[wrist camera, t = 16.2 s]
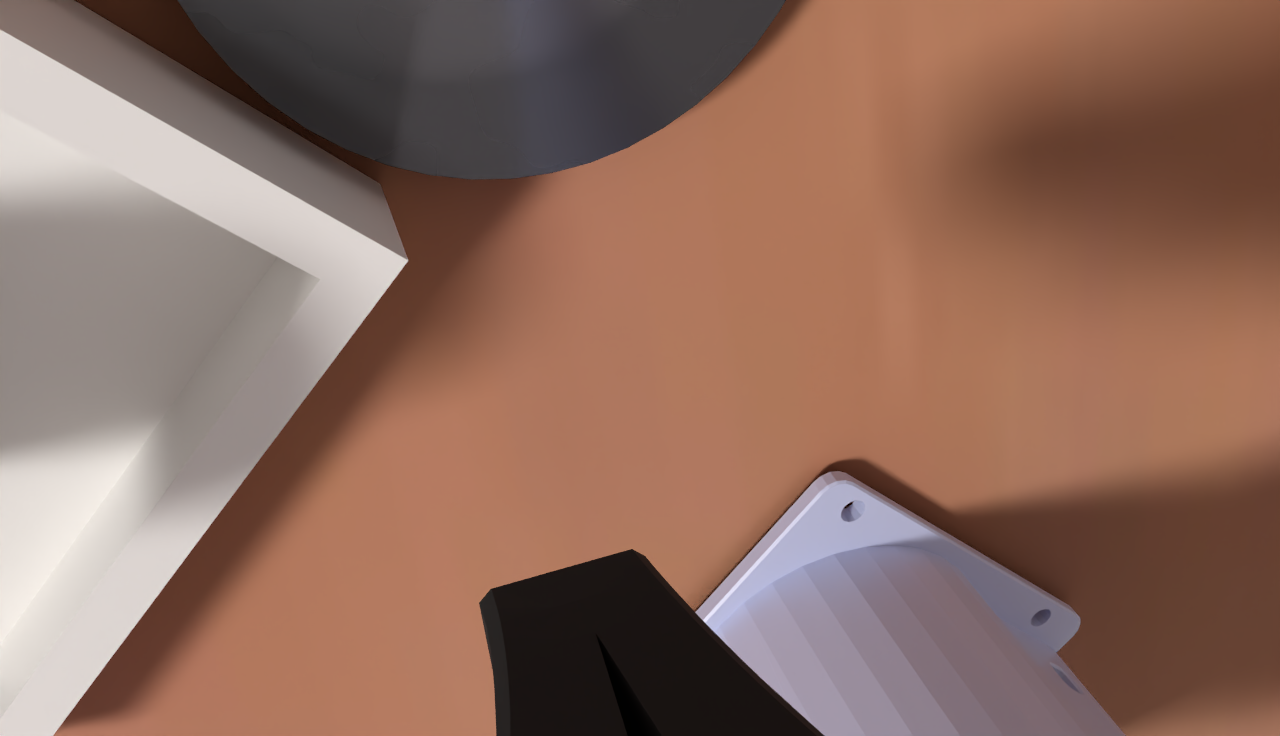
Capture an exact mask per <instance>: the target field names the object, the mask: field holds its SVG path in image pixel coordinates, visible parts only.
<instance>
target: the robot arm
mask: <svg viewBox="0 0 1280 736" xmlns="http://www.w3.org/2000/svg"><path fill="white" fill-rule="evenodd" d="M853 501H854V502H853ZM850 502H853V503H852V504H851V505H850V506H849V507H847V508H845V509H843V508H844V507H845V506H846V505H847V504H849V503H850ZM479 604H480V609H481V614H482V619H483V624H484V629H485V634H486V639H487V644H488V649H489V654H490V659H491V664H492V669H493V676H494V688H495V709H496V734H497V736H1126V735H1125V734H1124V733H1123V732H1122V730H1121V729H1120V728H1119V727H1118V726H1117V725H1116V723H1115V722H1114V721H1113V720H1112V719H1111V717H1110V716H1109V715H1108V714H1107V713H1106V711H1105V710H1104V709H1103V708H1102V707H1101V705H1100V704H1099V703H1098V702H1097V701H1096V700H1095V698H1094V697H1093V696H1092V695H1091V694H1090V692H1089V691H1088V690H1087V689H1086V688H1085V686H1084V685H1083V684H1082V683H1081V682H1080V681H1079V679H1078V678H1077V677H1076V676H1075V675H1074V673H1073V672H1072V671H1071V670H1070V669H1069V667H1068V666H1067V665H1066V664H1065V663H1064V661H1063V660H1062V659H1061V658H1060V657H1059V656H1058V654H1057V652H1058V651H1059V650H1060V649H1061V648H1062V647H1063V646H1064V645H1065V644H1066V643H1067V642H1068V641H1069V640H1070V639H1071V638H1072V637H1073V636H1074V635H1075V633H1076V632H1077V631H1078V629H1079V626H1080V623H1081V622H1080V617H1079V616H1078V614H1077V613H1076V612H1075V611H1074V610H1073V609H1072V608H1071V607H1070V606H1069V605H1068V604H1066V603H1064V602H1063V601H1061V600H1059V599H1058V598H1056V597H1054V596H1053V595H1051V594H1049V593H1048V592H1046V591H1044V590H1042V589H1041V588H1039V587H1037V586H1036V585H1034V584H1032V583H1031V582H1029V581H1027V580H1026V579H1024V578H1022V577H1021V576H1019V575H1017V574H1015V573H1014V572H1012V571H1010V570H1009V569H1007V568H1005V567H1004V566H1002V565H1000V564H999V563H997V562H995V561H994V560H992V559H990V558H988V557H987V556H985V555H983V554H982V553H980V552H978V551H977V550H975V549H973V548H972V547H970V546H968V545H967V544H965V543H963V542H961V541H960V540H958V539H956V538H955V537H953V536H951V535H950V534H948V533H946V532H945V531H943V530H941V529H940V528H938V527H936V526H934V525H933V524H931V523H929V522H928V521H926V520H924V519H923V518H921V517H919V516H918V515H916V514H914V513H913V512H911V511H909V510H907V509H906V508H904V507H902V506H901V505H899V504H897V503H896V502H894V501H892V500H891V499H889V498H887V497H886V496H884V495H882V494H880V493H879V492H877V491H875V490H874V489H872V488H870V487H869V486H867V485H865V484H864V483H862V482H860V481H859V480H857V479H855V478H854V477H852V476H850V475H848V474H847V473H844V472H841V471H834V472H828V473H826V474H824V475H822V476H820V477H819V478H818V479H816V480H815V481H814V482H813V483H812V484H811V485H810V486H809V487H808V489H807V490H806V491H805V492H804V493H803V494H802V495H801V496H800V497H799V499H798V500H797V501H796V502H795V503H794V504H793V505H792V506H791V507H790V508H789V510H788V511H787V512H786V513H785V514H784V515H783V516H782V517H781V518H780V519H779V521H778V522H777V523H776V524H775V525H774V526H773V527H772V528H771V529H770V531H769V532H768V533H767V534H766V535H765V536H764V537H763V538H762V539H761V540H760V542H759V543H758V544H757V545H756V546H755V547H754V548H753V549H752V550H751V551H750V553H749V554H748V555H747V556H746V557H745V558H744V559H743V560H742V561H741V563H740V564H739V565H738V566H737V567H736V568H735V569H734V570H733V571H732V572H731V574H730V575H729V576H728V577H727V578H726V579H725V580H724V581H723V582H722V583H721V585H720V586H719V587H718V588H717V589H716V590H715V591H714V592H713V593H712V594H711V596H710V597H709V598H708V599H707V600H706V601H705V602H704V603H703V604H702V606H701V607H700V608H699V609H698V610H697V611H696V612H694V611H693V610H692V609H691V608H690V606H689V605H688V604H687V603H686V602H685V601H684V600H683V599H682V598H681V597H680V596H679V595H678V593H677V592H676V591H675V590H674V589H673V588H672V587H671V586H670V585H669V583H668V582H667V581H666V580H665V579H664V578H663V577H662V576H661V574H660V573H659V572H658V571H657V570H656V569H655V567H654V566H653V565H652V564H651V563H650V561H649V560H648V559H647V558H646V557H645V556H644V555H642V554H640V553H638V552H636V551H635V550H633V549H631V550H627V551H624V552H620V553H617V554H613V555H609V556H606V557H602V558H599V559H595V560H592V561H588V562H585V563H581V564H578V565H574V566H571V567H567V568H563V569H560V570H556V571H553V572H549V573H546V574H542V575H539V576H535V577H532V578H528V579H525V580H521V581H518V582H514V583H510V584H507V585H503V586H500V587H496V588H493V589H491V590H490V591H489V592H488V593H487V594H486V596H485V597H484V598H483V599H482V600H481V602H480V603H479Z"/></svg>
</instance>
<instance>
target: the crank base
mask: <svg viewBox="0 0 1280 736" xmlns="http://www.w3.org/2000/svg"><path fill="white" fill-rule="evenodd" d="M178 2H179V3H180V5H181V6H182V8H183V9H184V11H185V12H186V14H187V15H188V17H189V18H190V20H191V21H192V23H193V24H194V26H195V27H196V29H197V30H198V31H199V33H200V34H201V35H202V36H203V37H204V38H205V40H206V41H207V42H208V43H209V44H210V45H211V46H212V48H213V49H214V50H215V51H216V52H217V53H218V54H219V56H220V57H221V58H222V59H223V60H224V61H225V62H226V64H227V65H228V66H229V67H230V68H231V69H232V70H233V71H234V72H235V73H236V74H237V75H238V76H239V77H241V78H242V79H243V80H244V81H245V82H246V83H247V84H248V85H249V86H251V87H252V88H253V89H254V90H255V91H256V92H257V93H258V94H259V95H261V96H262V97H263V98H264V99H265V100H266V101H267V102H269V103H270V104H271V105H273V106H274V107H276V108H277V109H279V110H280V111H282V112H283V113H284V114H286V115H287V116H289V117H290V118H292V119H293V120H294V121H296V122H297V123H299V124H300V125H302V126H303V127H305V128H306V129H308V130H310V131H312V132H314V133H315V134H317V135H319V136H321V137H323V138H325V139H327V140H329V141H331V142H333V143H335V144H336V145H338V146H340V147H342V148H344V149H346V150H349V151H351V152H354V153H357V154H359V155H362V156H365V157H367V158H370V159H373V160H375V161H378V162H381V163H383V164H386V165H389V166H394V167H398V168H402V169H406V170H410V171H415V172H419V173H423V174H427V175H434V176H444V177H453V178H462V179H513V178H520V177H527V176H534V175H541V174H548V173H553V172H557V171H561V170H565V169H568V168H572V167H576V166H580V165H583V164H587V163H591V162H593V161H596V160H598V159H601V158H603V157H605V156H608V155H610V154H613V153H615V152H618V151H620V150H623V149H625V148H628V147H630V146H631V145H633V144H635V143H637V142H639V141H641V140H642V139H644V138H646V137H648V136H650V135H651V134H653V133H655V132H657V131H659V130H661V129H662V128H664V127H665V126H667V125H668V124H670V123H671V122H672V121H674V120H675V119H677V118H678V117H679V116H681V115H682V114H684V113H685V112H686V111H688V110H689V109H691V108H692V107H694V106H695V105H696V104H697V103H699V102H700V101H701V100H702V99H703V98H704V97H705V96H706V95H707V94H709V93H710V92H711V91H712V90H713V89H714V88H715V87H716V86H717V85H719V84H720V83H721V82H722V81H723V80H724V79H725V78H726V77H727V76H728V75H729V74H730V73H731V72H732V71H733V70H734V69H735V67H736V66H737V65H738V64H739V63H740V62H741V61H742V60H743V58H744V57H745V56H746V55H747V54H748V53H749V52H750V51H751V49H752V48H753V47H754V46H755V45H756V43H757V42H758V41H759V39H760V38H761V36H762V35H763V34H764V32H765V31H766V29H767V28H768V27H769V25H770V24H771V22H772V21H773V19H774V18H775V17H776V15H777V14H778V12H779V11H780V9H781V8H782V6H783V4H784V2H785V0H178Z"/></svg>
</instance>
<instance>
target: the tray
mask: <svg viewBox="0 0 1280 736" xmlns="http://www.w3.org/2000/svg"><path fill="white" fill-rule="evenodd" d="M407 262H408V258H407V255H406V253H405V250H404V247H403V244H402V242H401V239H400V236H399V234H398V231H397V228H396V225H395V223H394V220H393V217H392V215H391V212H390V209H389V206H388V204H387V201H386V198H385V195H384V193H383V190H382V187H381V185H380V183H378V182H376V181H375V180H373V179H371V178H370V177H368V176H366V175H365V174H363V173H361V172H360V171H358V170H356V169H355V168H353V167H351V166H350V165H348V164H346V163H345V162H343V161H341V160H340V159H338V158H336V157H335V156H333V155H331V154H330V153H328V152H326V151H325V150H323V149H321V148H320V147H318V146H316V145H315V144H313V143H311V142H310V141H308V140H306V139H305V138H303V137H301V136H300V135H298V134H296V133H295V132H293V131H291V130H290V129H288V128H286V127H285V126H283V125H281V124H280V123H278V122H276V121H275V120H273V119H271V118H270V117H268V116H266V115H265V114H263V113H261V112H260V111H258V110H256V109H255V108H253V107H251V106H250V105H248V104H246V103H245V102H243V101H241V100H240V99H238V98H236V97H235V96H233V95H231V94H230V93H228V92H226V91H225V90H223V89H221V88H220V87H218V86H216V85H215V84H213V83H211V82H210V81H208V80H206V79H205V78H203V77H201V76H200V75H198V74H196V73H195V72H193V71H191V70H190V69H188V68H186V67H185V66H183V65H181V64H180V63H178V62H176V61H175V60H173V59H171V58H170V57H168V56H166V55H165V54H163V53H161V52H160V51H158V50H156V49H155V48H153V47H151V46H150V45H148V44H146V43H145V42H143V41H141V40H140V39H138V38H136V37H135V36H133V35H131V34H130V33H128V32H126V31H125V30H123V29H121V28H120V27H118V26H116V25H115V24H113V23H111V22H110V21H108V20H106V19H105V18H103V17H101V16H100V15H98V14H96V13H95V12H93V11H91V10H90V9H88V8H86V7H85V6H83V5H81V4H80V3H78V2H76V1H75V0H0V736H53V735H54V734H55V732H56V731H57V730H58V728H59V727H60V726H61V724H62V723H63V722H64V720H65V719H66V717H67V716H68V715H69V713H70V712H71V711H72V709H73V708H74V707H75V705H76V704H77V703H78V701H79V700H80V699H81V697H82V696H83V695H84V693H85V692H86V691H87V689H88V688H89V687H90V685H91V684H92V683H93V681H94V680H95V679H96V677H97V676H98V675H99V673H100V672H101V671H102V669H103V668H104V667H105V665H106V664H107V663H108V661H109V660H110V659H111V657H112V656H113V655H114V653H115V652H116V651H117V649H118V648H119V647H120V645H121V644H122V643H123V641H124V640H125V639H126V637H127V636H128V635H129V633H130V632H131V631H132V629H133V628H134V627H135V625H136V624H137V623H138V621H139V620H140V619H141V617H142V616H143V615H144V613H145V612H146V611H147V609H148V608H149V607H150V605H151V604H152V603H153V601H154V600H155V599H156V597H157V596H158V595H159V593H160V592H161V591H162V589H163V588H164V587H165V585H166V584H167V583H168V581H169V580H170V579H171V577H172V576H173V574H174V573H175V572H176V570H177V569H178V568H179V566H180V565H181V564H182V562H183V561H184V560H185V558H186V557H187V556H188V554H189V553H190V552H191V550H192V549H193V548H194V546H195V545H196V544H197V542H198V541H199V540H200V538H201V537H202V536H203V534H204V533H205V532H206V530H207V529H208V528H209V526H210V525H211V524H212V522H213V521H214V520H215V518H216V517H217V516H218V514H219V513H220V512H221V510H222V509H223V508H224V506H225V505H226V504H227V502H228V501H229V500H230V498H231V497H232V496H233V494H234V493H235V492H236V490H237V489H238V488H239V486H240V485H241V484H242V482H243V481H244V480H245V478H246V477H247V476H248V474H249V473H250V472H251V470H252V469H253V468H254V466H255V465H256V464H257V462H258V461H259V460H260V458H261V457H262V456H263V454H264V453H265V452H266V450H267V449H268V448H269V446H270V445H271V444H272V442H273V441H274V440H275V438H276V437H277V436H278V434H279V433H280V431H281V430H282V429H283V427H284V426H285V425H286V423H287V422H288V421H289V419H290V418H291V417H292V415H293V414H294V413H295V411H296V410H297V409H298V407H299V406H300V405H301V403H302V402H303V401H304V399H305V398H306V397H307V395H308V394H309V393H310V391H311V390H312V389H313V387H314V386H315V385H316V383H317V382H318V381H319V379H320V378H321V377H322V375H323V374H324V373H325V371H326V370H327V369H328V367H329V366H330V365H331V363H332V362H333V361H334V359H335V358H336V357H337V355H338V354H339V353H340V351H341V350H342V349H343V347H344V346H345V345H346V343H347V342H348V341H349V339H350V338H351V337H352V335H353V334H354V333H355V331H356V330H357V329H358V327H359V326H360V325H361V323H362V322H363V321H364V319H365V318H366V317H367V315H368V314H369V313H370V311H371V310H372V309H373V307H374V306H375V305H376V303H377V302H378V301H379V299H380V298H381V297H382V295H383V294H384V293H385V291H386V290H387V288H388V287H389V286H390V284H391V283H392V282H393V280H394V279H395V278H396V276H397V275H398V274H399V272H400V271H401V270H402V268H403V267H404V266H405V264H406V263H407Z"/></svg>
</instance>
